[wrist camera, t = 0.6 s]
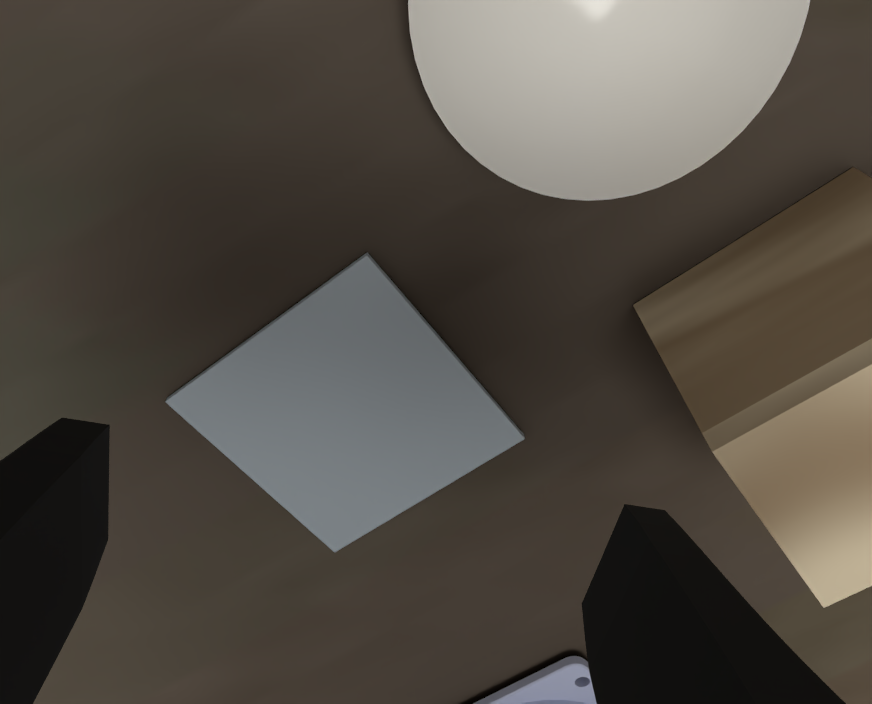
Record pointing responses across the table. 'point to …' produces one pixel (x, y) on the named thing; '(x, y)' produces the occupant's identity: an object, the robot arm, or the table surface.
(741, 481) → the beige open box
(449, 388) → the pad
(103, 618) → the table surface
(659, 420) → the table surface
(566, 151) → the dish
